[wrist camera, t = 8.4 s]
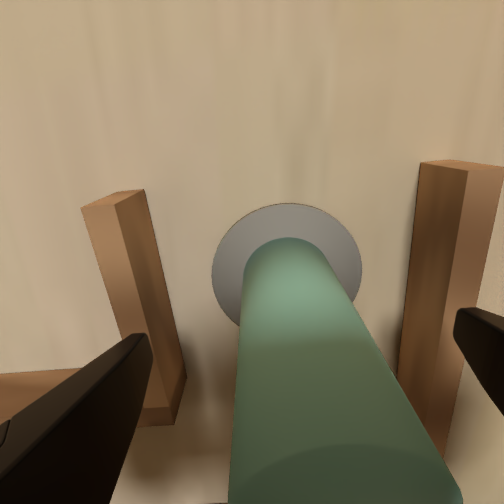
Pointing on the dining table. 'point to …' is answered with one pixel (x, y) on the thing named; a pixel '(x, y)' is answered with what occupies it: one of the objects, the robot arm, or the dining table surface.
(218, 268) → the pad
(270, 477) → the peg
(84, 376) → the robot arm
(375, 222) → the dining table surface
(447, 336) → the channel
